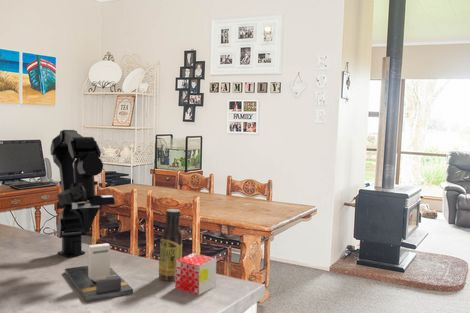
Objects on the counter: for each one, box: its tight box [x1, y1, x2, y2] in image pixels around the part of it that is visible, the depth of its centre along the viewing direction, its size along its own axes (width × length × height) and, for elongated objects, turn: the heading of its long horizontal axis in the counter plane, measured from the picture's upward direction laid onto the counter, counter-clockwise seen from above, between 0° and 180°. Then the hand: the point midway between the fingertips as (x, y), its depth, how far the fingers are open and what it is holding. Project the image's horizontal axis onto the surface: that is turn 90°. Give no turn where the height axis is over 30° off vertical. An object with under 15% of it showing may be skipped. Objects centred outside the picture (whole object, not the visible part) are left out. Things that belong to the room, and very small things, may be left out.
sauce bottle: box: [158, 208, 183, 282], centre depth 135 cm, size 6×6×20 cm
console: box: [64, 265, 134, 303], centre depth 130 cm, size 24×12×4 cm, turn 32°
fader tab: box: [87, 242, 111, 282], centre depth 128 cm, size 3×5×9 cm, turn 122°
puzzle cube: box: [174, 252, 217, 295], centre depth 129 cm, size 8×8×8 cm
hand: (86, 231), depth 139 cm, fingers closed
